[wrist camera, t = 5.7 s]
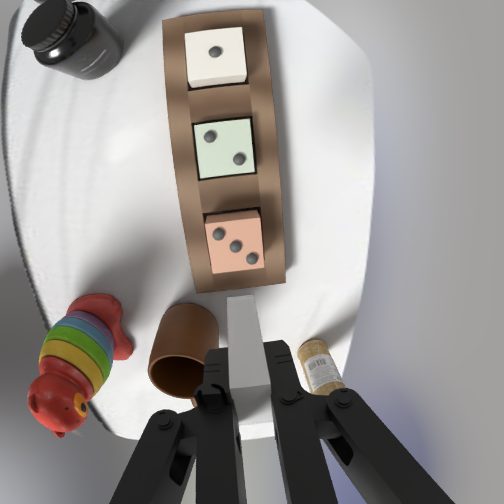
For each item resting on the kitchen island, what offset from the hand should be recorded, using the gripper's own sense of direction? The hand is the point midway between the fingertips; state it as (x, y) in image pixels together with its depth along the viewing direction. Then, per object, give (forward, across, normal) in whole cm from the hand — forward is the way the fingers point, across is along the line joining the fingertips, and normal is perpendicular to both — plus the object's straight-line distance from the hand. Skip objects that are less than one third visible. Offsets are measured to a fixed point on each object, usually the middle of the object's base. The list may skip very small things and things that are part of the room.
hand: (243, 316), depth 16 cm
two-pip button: (+15, 0, +9) cm, 18 cm away
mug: (+16, -7, -14) cm, 22 cm away
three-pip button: (+14, 0, 0) cm, 14 cm away
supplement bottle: (+16, -13, +23) cm, 31 cm away
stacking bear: (+16, -21, -11) cm, 29 cm away
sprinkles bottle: (+16, +9, -19) cm, 26 cm away
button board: (+16, 0, +9) cm, 18 cm away
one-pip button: (+14, 0, +18) cm, 23 cm away
